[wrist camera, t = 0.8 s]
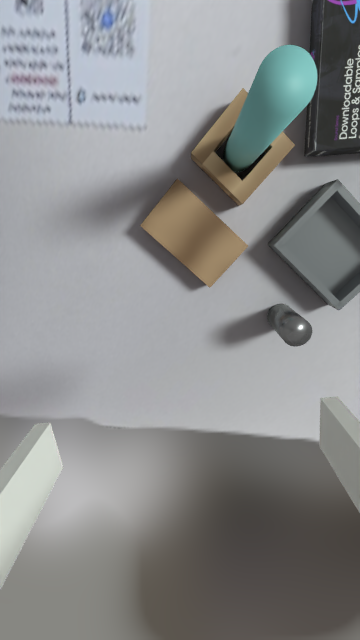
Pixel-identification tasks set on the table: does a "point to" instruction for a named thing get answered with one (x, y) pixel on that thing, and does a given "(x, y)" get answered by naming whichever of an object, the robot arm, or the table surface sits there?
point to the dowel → (271, 104)
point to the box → (334, 79)
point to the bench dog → (289, 325)
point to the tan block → (193, 234)
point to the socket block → (220, 171)
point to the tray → (325, 244)
